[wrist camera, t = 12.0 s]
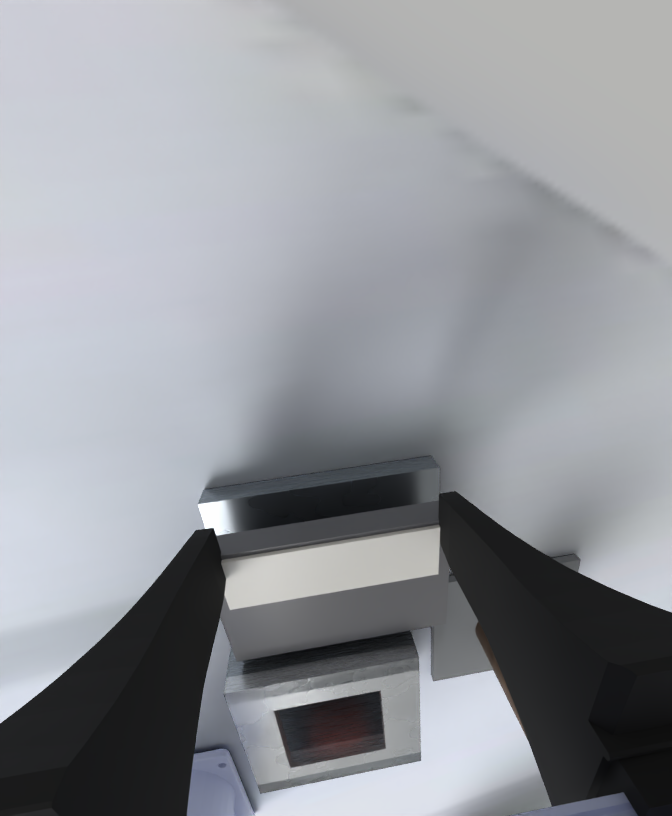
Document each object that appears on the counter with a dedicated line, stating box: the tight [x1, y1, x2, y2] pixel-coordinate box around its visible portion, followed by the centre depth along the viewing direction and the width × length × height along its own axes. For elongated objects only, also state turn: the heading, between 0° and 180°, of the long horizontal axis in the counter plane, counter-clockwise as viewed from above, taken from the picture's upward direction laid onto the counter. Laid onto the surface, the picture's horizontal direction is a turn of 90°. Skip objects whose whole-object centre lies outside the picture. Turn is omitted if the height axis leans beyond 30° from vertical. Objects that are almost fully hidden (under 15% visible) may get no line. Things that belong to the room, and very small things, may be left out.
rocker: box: [216, 500, 449, 662], centre depth 14 cm, size 6×9×1 cm, turn 96°
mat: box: [431, 554, 580, 681], centre depth 20 cm, size 8×8×1 cm
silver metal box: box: [198, 456, 440, 793], centre depth 16 cm, size 15×10×4 cm, turn 6°
